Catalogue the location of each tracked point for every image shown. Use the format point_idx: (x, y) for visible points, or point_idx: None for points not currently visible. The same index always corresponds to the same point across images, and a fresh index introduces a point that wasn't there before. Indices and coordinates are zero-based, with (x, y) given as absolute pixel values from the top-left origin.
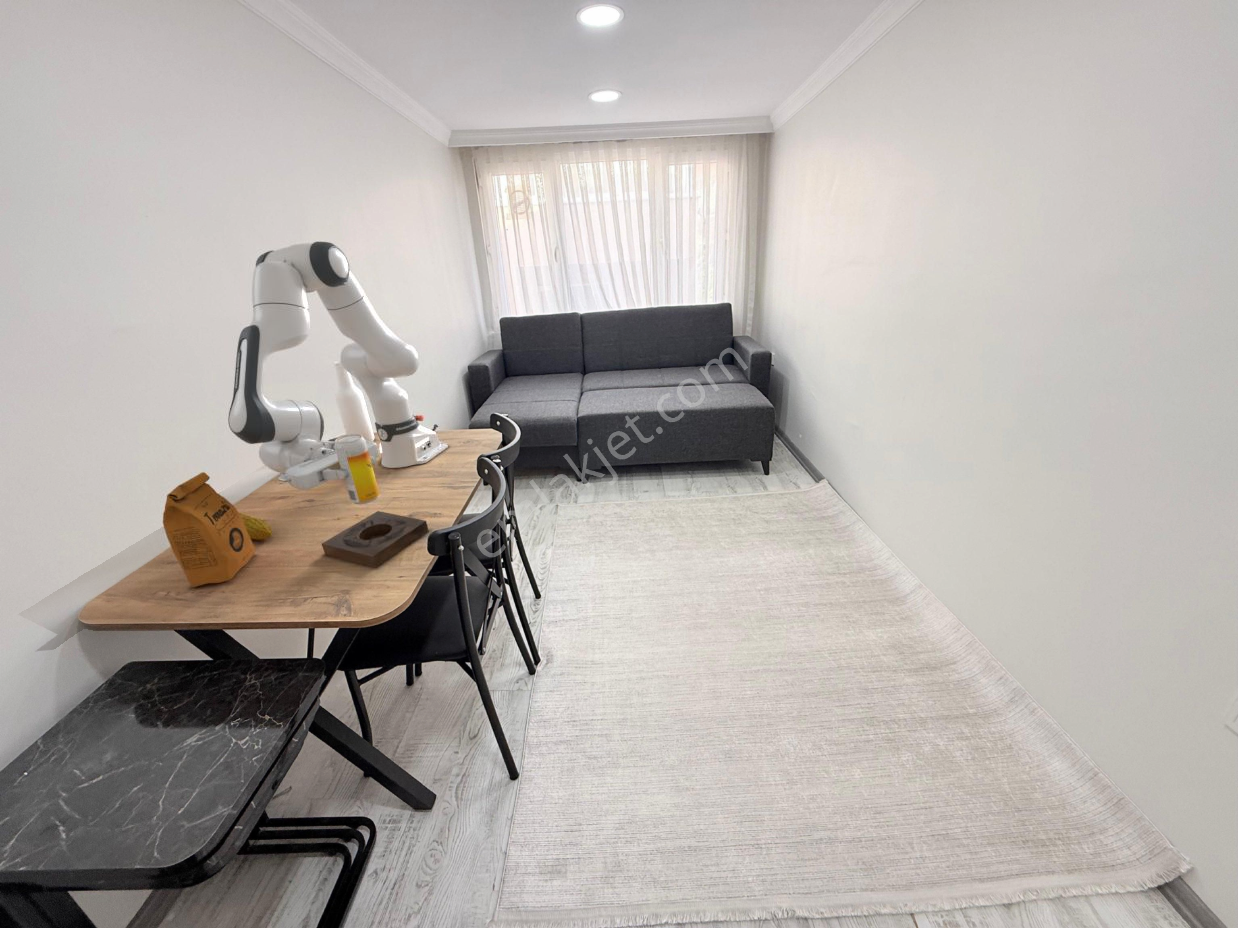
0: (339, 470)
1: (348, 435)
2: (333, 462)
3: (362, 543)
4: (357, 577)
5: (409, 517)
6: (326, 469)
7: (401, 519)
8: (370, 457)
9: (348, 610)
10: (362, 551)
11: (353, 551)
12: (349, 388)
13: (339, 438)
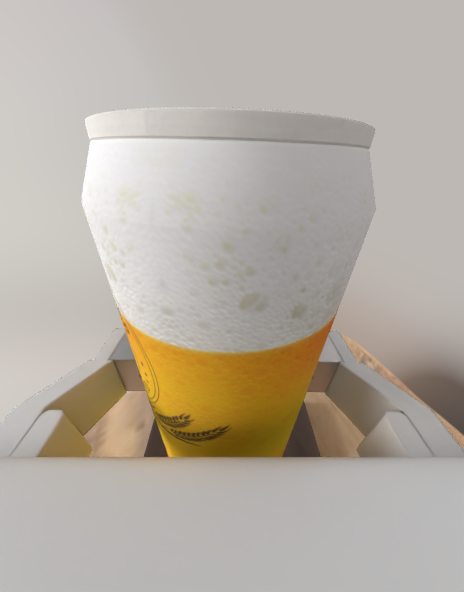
0: (336, 349)
1: (116, 126)
2: (344, 461)
3: (285, 454)
4: (328, 411)
5: (150, 437)
6: (424, 445)
7: (161, 452)
8: (123, 336)
9: (364, 362)
10: (303, 422)
11: (316, 444)
12: None
13: (264, 133)
